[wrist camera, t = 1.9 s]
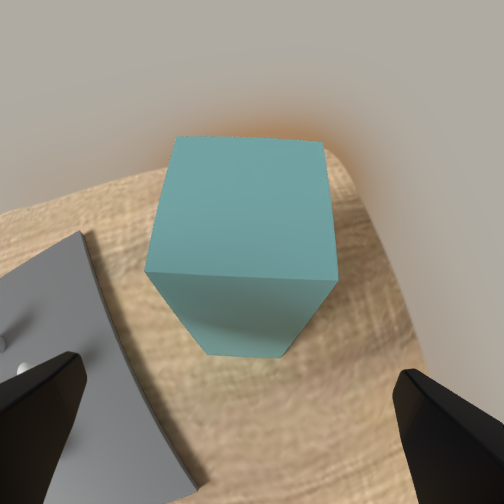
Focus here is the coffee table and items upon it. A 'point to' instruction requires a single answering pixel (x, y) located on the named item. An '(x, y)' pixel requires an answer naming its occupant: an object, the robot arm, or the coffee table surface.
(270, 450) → the coffee table surface
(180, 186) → the teal block
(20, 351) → the peg plate
